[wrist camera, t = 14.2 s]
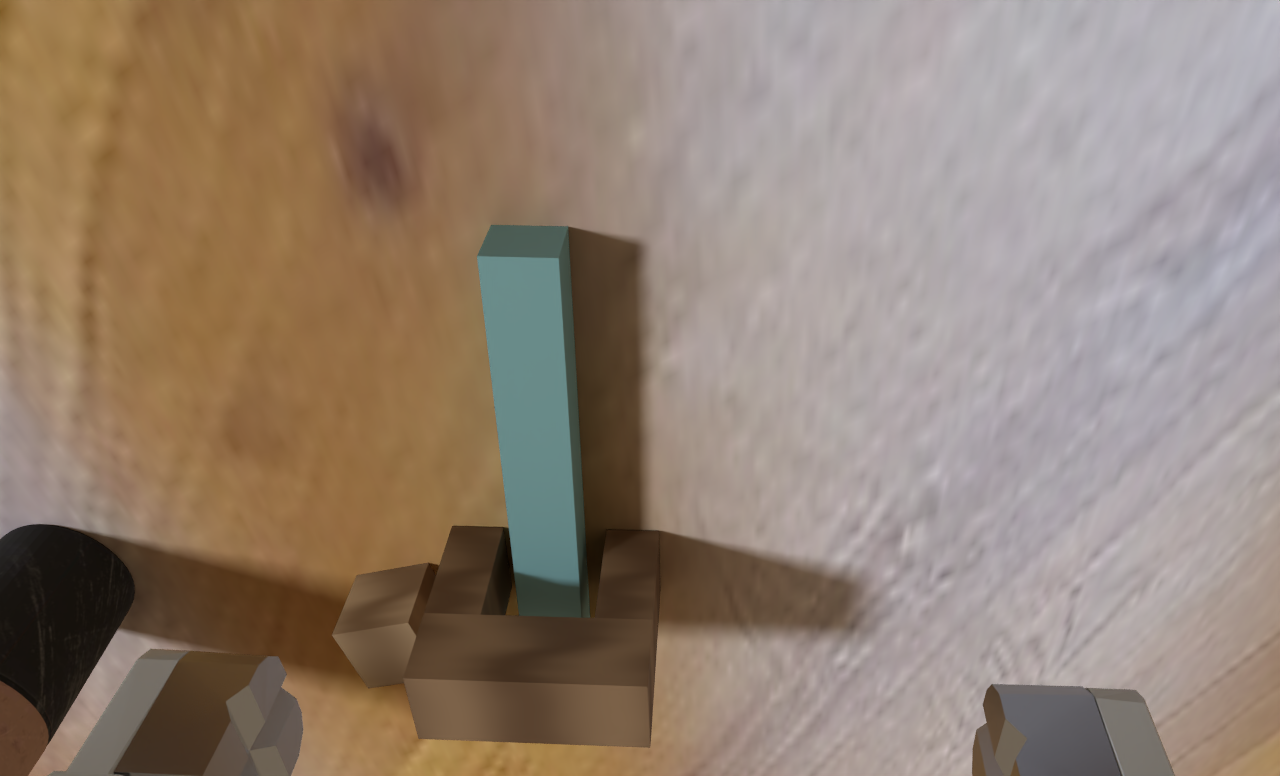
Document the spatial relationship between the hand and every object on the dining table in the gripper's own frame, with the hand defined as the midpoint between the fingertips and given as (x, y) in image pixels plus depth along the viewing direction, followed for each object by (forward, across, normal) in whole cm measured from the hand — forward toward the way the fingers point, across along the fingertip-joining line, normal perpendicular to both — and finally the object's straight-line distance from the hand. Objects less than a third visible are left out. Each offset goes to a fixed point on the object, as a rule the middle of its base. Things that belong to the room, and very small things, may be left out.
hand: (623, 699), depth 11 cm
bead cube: (+26, +16, +28) cm, 41 cm away
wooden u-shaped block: (+26, +7, +25) cm, 37 cm away
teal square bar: (+27, +7, +18) cm, 33 cm away
